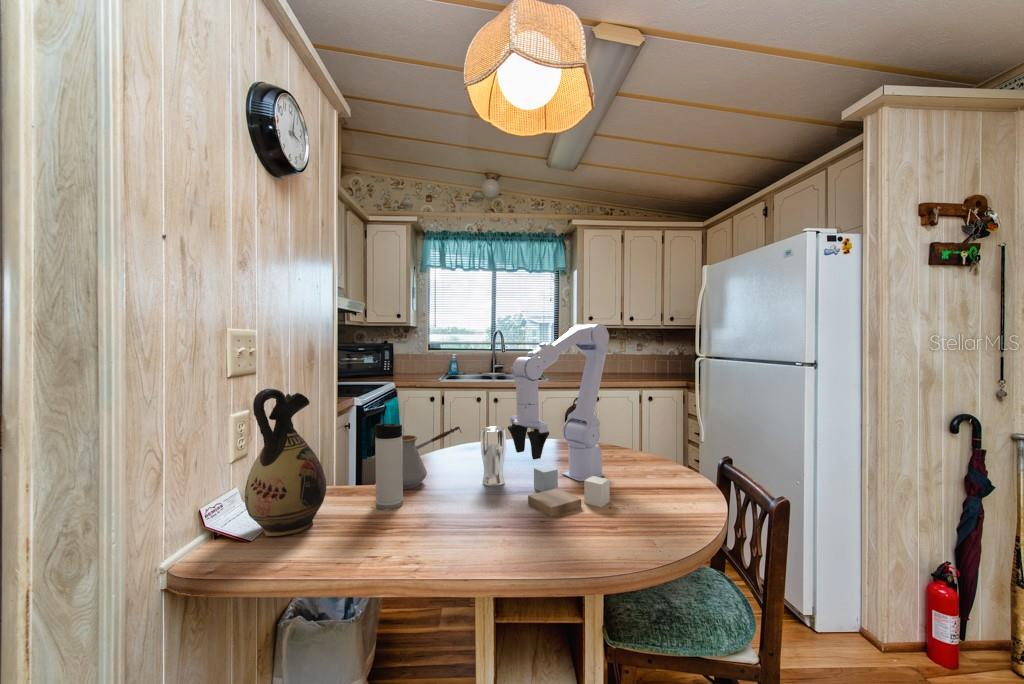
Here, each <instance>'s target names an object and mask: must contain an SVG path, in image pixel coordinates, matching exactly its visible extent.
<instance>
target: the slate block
mask: <svg viewBox="0 0 1024 684" xmlns="http://www.w3.org/2000/svg"><path fill="white" fill-rule="evenodd" d="M558 471H559V470H558V468H555V467H553V466H550V465H543V466H542V465H541V466H537V467H534V468H533V489H534V490H536V491H539V493H540V492H544V491H548V490H552V489H556V488H558V489H559V472H558Z"/></svg>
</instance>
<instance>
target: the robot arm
mask: <svg viewBox="0 0 1024 684" xmlns="http://www.w3.org/2000/svg"><path fill="white" fill-rule="evenodd" d="M609 339H610V334H609V332H608V329H607V327H606V325H604V324H603V323H595V324H594V323H593V324H579V323H578V324H577V323H576V324H575V325H574V326H572V327H569V329H568V331H567V332H565V333H564V334H563V335H561V336H560V337H558V339H556V340H554V341H553V342H552V343H550V342H541V343H539V344H538V346H539V347H537V348H536V349H533V350H532V351H528V352H526V354H527V355H525V356H520V357H517V358H516V359H515V360H514V362H512V363H513V364H512V367H510V371H511V374H512V375H513V376H512V377H514V384H515V389H516V390H515V392H516V393H515V395H516V399H515V400H516V415H510V416H509V424H510V425H508V426H507V429H508V431H509V433H510V435H511V438H512V441H513V445H514V448H515V451H516V453H518V454H519V453H522V452H523V453H524V452H525V448H526V436H527V437H528V440H529V443H530V449H531V458H532V460H534V461H535V460H539V459H541V458H542V455H543V450H544V447H545V443H546V441H547V439H548V438H549V435H550V431H549V430H548V424H547V423H545V422H544V421H542V420H540V418H539V410H540V409H539V408H540V407H539V379H541V377H542V375H543V373H544V371H545V370H546V369H547V368H549V367H550V366H551V365H553V364H554V363H556V362H558V360H559V357H560V356H559V355H560V354H562V353H563V352H565V351H567V350H569V349H570V348H571V347H574V346H575V347H576V348H577V349H578V350H579V351H580V352H581V354H583V355H584V356H585V363H584V368H583V373H582V378H581V383H580V387H579V392H578V396H577V400H576V405H575V409H573V411H571V412H570V413H569V414H568V415H567V419H566V421H565V423H564V425H563V427H562V436H563V439H565V441H566V444H567V445H568V470H567V471H563V472H562V473H561V474H562V475H563V476H566V477H568V478H570V479H573V480H575V481H577V482H584V480H586V479H588V478H590V477H592V476H596V477H601V478H602V477H604V476H605V474H604V473H603V452H602V449H601V447H600V445H599V444H598V442H599V440H600V438H601V433H600V432H601V430H600V427H601V422H600V420H599V418H598V417H597V416H596V414H595V410H596V405H597V401H598V396H599V391H600V387H601V382H602V375H603V371H604V367H605V362H606V358H607V350H608V344H609ZM528 429H531V430H530V431H528Z"/></svg>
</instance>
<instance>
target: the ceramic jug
mask: <svg viewBox="0 0 1024 684" xmlns="http://www.w3.org/2000/svg"><path fill="white" fill-rule="evenodd" d="M271 399H275V405H274V407H273V408H272V410H271V413H270V414H269V415H268V416H267V415H266V410H265V403H266V402H267V401H268V400H271ZM310 403H311V402H310V400H309V398H308V397H306V396H305V395H304V394H302V393H300V392H296V393H295V394H292V395H291V394H290V393H287V394H286V395H285V393H283V391H281V390H279V389H275V388H264V389H262V390H260V392H258V393H257V394H256V395H255V397H254V398H253V404H252V405H253V406H252V408H253V409H252V410H253V415H254V417H255V421H256V423H257V425H258V428H259V432H260V434H261V435H262V437H263V438H262V439H263V446H262V449H260V452H259V453H258V455H257V457H256V459H254V460H255V461H253V464H252V466H251V468H250V470H249V473H248V476H247V479H246V484H245V490H244V506H245V510H246V512H247V513H248V515H249V517H250V518H251V519H252V520H253V521H255V522H256V523H257V524H258V525H259V526H260V527H261V529H263V531H264V535H265V536H266V537H274V536H278V537H279V536H284V535H285V536H286V535H293V534H294V535H295V534H298V533H300V532H302V531H305V530H307V529H310V528H312V527H313V526H314V522H313V521H314V519H315V516H316V515H317V513H318V511H319V510H320V508H321V507H322V505H323V503H324V501H325V500H324V499H325V496H326V494H327V479H326V475H325V472H324V469H323V465H322V463H321V462H320V460H319V457H317V456H318V455H316V453H315V452H314V451H313V449H312V448H311V447H310V445H309V444H308V443H307V441H305V439H304V438H303V437H302V436H301V435H300V434H299V433H298V431H297V430H296V429H295V428H294V424H293V419H292V418H293V416H295V415H296V414H297V413H298V412H300V411H302V410H303V409H304V408H306V407H307V406H309V405H310ZM268 419H269V420H271V421H275V422H274V427H273V429H272V427H271V426H270V425H271V424H270V422H269V420H268Z"/></svg>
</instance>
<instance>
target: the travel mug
mask: <svg viewBox="0 0 1024 684" xmlns="http://www.w3.org/2000/svg"><path fill="white" fill-rule="evenodd" d="M402 436H403V425H402V424H395V423H377V424H375V439H374V440H375V441H374V442H375V449H374V450H375V507H376V508H377V509H379V510H382V511H391V510H395V509H398V508H401V507H402V506H403V504H404V489H403V447H402Z"/></svg>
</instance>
